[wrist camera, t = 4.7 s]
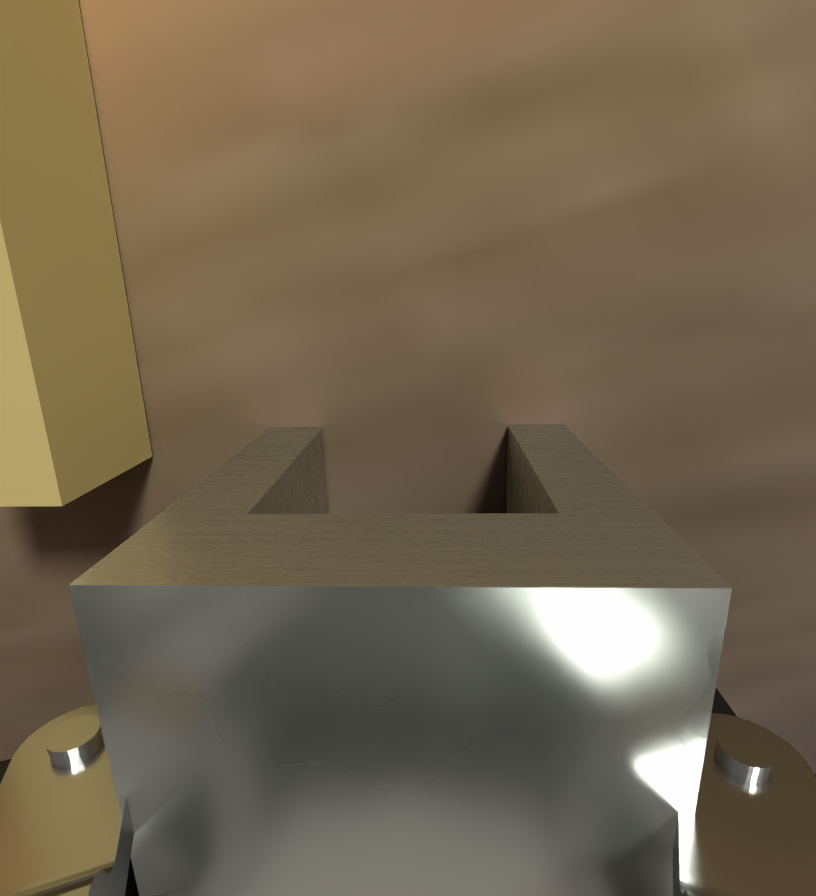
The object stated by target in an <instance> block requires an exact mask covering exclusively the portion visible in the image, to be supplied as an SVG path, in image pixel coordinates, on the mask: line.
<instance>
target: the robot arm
mask: <svg viewBox="0 0 816 896" xmlns="http://www.w3.org/2000/svg"><path fill="white" fill-rule="evenodd" d="M133 836H134V830H133V825H132V821H131V816H130V812H129V807H128V803H127V798H126V797H120V796H117V795H116V791H115V786H114V782H113V778H112V773H111V769H110V764H109V760H108V755H107V751H106V747H105V742H104V738H103V733H102V729H101V725H100V720H99V716H98V711H97V707H96V704H93V705H88V706H84V707H81V708H78V709H75V710H72V711H70V712H67V713H65V714H63V715H61V716H59V717H57V718H55V719H53V720H52V721H50V722H48V723H47V724H45V725H44V726H42V727H41V728H39V729H38V730H37V731H36V732H34V733H33V734H32V735H31V736H30V737H28V738H27V739H26V741H25V742H24V743H23V744H22V745H21V746H20V747H19V748H18V750H17V751H16V752H15V754H14V756H13V757H12V759H9V760H5V761H0V896H139V892H138V888H137V883H136V879H135V875H134V870H133V866H132V861H131V857H130V856H131V850H132V843H133ZM673 896H816V774H814V772H813V770H812V769H811V767H810V766H809V764H808V763H807V761H806V760H805V759H804V758H803V757H802V755H801V754H800V753H799V752H798V751H797V750H796V749H794V748H793V747H792V746H791V745H790V744H789V743H787V742H786V741H785V740H783V739H782V738H781V737H779V736H778V735H776V734H775V733H773V732H771V731H770V730H768V729H766V728H764V727H762V726H760V725H758V724H756V723H753V722H751V721H748V720H745V719H742V718H739V717H737V716H736V715H735V713H734V712H733V711H732V709H731V708H730V706H729V705H728V704H727V702H726V701H725V699H724V698H723V697H722V695H721V694H720V693H719V691H718V690H717V688H715V694H714V700H713V706H712V712H711V718H710V724H709V730H708V737H707V743H706V749H705V755H704V761H703V767H702V773H701V779H700V785H699V791H698V797H697V803H696V809H695V813H692V812H678V818H677V825H676V831H675V838H674V844H673Z"/></svg>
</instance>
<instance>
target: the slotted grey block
mask: <svg viewBox="0 0 816 896" xmlns="http://www.w3.org/2000/svg"><path fill="white" fill-rule="evenodd" d="M69 588H70V592H71V597H72V601H73V606H74V610H75V614H76V619H77V623H78V628H79V632H80V636H81V641H82V645H83V650H84V654H85V658H86V663H87V667H88V672H89V676H90V680H91V685H92V689H93V694H94V698H95V703H96V707H97V711H98V716H99V720H100V725H101V729H102V733H103V738H104V742H105V747H106V751H107V755H108V760H109V764H110V769H111V773H112V778H113V782H114V786H115V791H116V795H117V796H120V797H126V798H127V803H128V807H129V812H130V816H131V821H132V825H133V830H134V836H133V843H132V850H131V856H130V857H131V861H132V866H133V870H134V875H135V879H136V883H137V888H138V892H139V896H673V844H674V838H675V831H676V825H677V818H678V812H692V813H695V809H696V803H697V797H698V791H699V785H700V779H701V773H702V767H703V761H704V755H705V749H706V743H707V737H708V730H709V724H710V718H711V712H712V706H713V700H714V694H715V688H716V682H717V676H718V670H719V664H720V658H721V652H722V646H723V640H724V634H725V628H726V622H727V615H728V609H729V603H730V597H731V591H732V588H731V587H730V586H729V585H728V584H727V583H726V582H725V581H724V580H723V579H722V578H721V577H720V576H719V575H718V574H717V573H716V572H715V571H714V570H712V569H711V568H710V567H709V566H708V565H707V564H706V563H705V562H704V561H703V560H702V559H701V558H700V557H699V556H698V555H697V554H696V553H695V552H694V551H693V550H692V549H691V548H690V547H689V546H688V545H687V544H686V543H685V542H684V541H683V540H682V539H681V538H680V537H679V536H678V535H677V534H676V533H675V532H673V531H672V530H671V529H670V528H669V527H668V526H667V525H666V524H665V523H664V522H663V521H662V520H661V519H660V518H659V517H658V516H657V515H656V514H655V513H654V512H653V511H652V510H651V509H650V508H649V507H648V506H647V505H646V504H645V503H644V502H643V501H642V500H641V499H640V498H639V497H638V496H637V495H636V494H635V493H633V492H632V491H631V490H630V489H629V488H628V487H627V486H626V485H625V484H624V483H623V482H622V481H621V480H620V479H619V478H618V477H617V476H616V475H615V474H614V473H613V472H612V471H611V470H610V469H609V468H608V467H607V466H606V465H605V464H604V463H603V462H602V461H601V460H600V459H599V458H598V457H597V456H595V455H594V454H593V453H592V452H591V451H590V450H589V449H588V448H587V447H586V446H585V445H584V444H583V443H582V442H581V441H580V440H579V439H578V438H577V437H576V436H575V435H574V434H573V433H572V432H571V431H570V430H569V429H568V428H567V427H566V426H565V425H542V426H508V453H507V487H506V513H463V514H328V503H327V489H326V475H325V461H324V446H323V432H322V428H277V429H268V430H266V431H265V432H264V433H263V434H261V435H260V436H259V437H257V438H256V439H255V440H254V441H252V442H251V443H250V444H248V445H247V446H246V447H245V448H243V449H242V450H241V451H240V452H238V453H237V454H236V455H234V456H233V457H232V458H231V459H229V460H228V461H227V462H225V463H224V464H223V465H222V466H220V467H219V468H218V469H217V470H215V471H214V472H213V473H211V474H210V475H209V476H208V477H206V478H205V479H204V480H202V481H201V482H200V483H199V484H197V485H196V486H195V487H194V488H192V489H191V490H190V491H188V492H187V493H186V494H185V495H183V496H182V497H181V498H179V499H178V500H177V501H176V502H174V503H173V504H172V505H171V506H169V507H168V508H167V509H165V510H164V511H163V512H162V513H160V514H159V515H158V516H156V517H155V518H154V519H153V520H151V521H150V522H149V523H148V524H146V525H145V526H144V527H142V528H141V529H140V530H139V531H137V532H136V533H135V534H133V535H132V536H131V537H130V538H128V539H127V540H126V541H125V542H123V543H122V544H121V545H119V546H118V547H117V548H116V549H114V550H113V551H112V552H110V553H109V554H108V555H107V556H105V557H104V558H103V559H101V560H100V561H99V562H98V563H96V564H95V565H94V566H93V567H91V568H90V569H89V570H87V571H86V572H85V573H84V574H82V575H81V576H80V577H78V578H77V579H76V580H75V581H73V582H72V583H71V584H70V585H69Z"/></svg>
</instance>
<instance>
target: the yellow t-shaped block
mask: <svg viewBox="0 0 816 896" xmlns="http://www.w3.org/2000/svg"><path fill="white" fill-rule="evenodd" d="M150 457H152V451H151V445H150V439H149V433H148V426H147V420H146V414H145V408H144V402H143V396H142V389H141V383H140V377H139V371H138V365H137V359H136V352H135V346H134V340H133V334H132V328H131V322H130V315H129V309H128V303H127V297H126V291H125V285H124V278H123V272H122V266H121V260H120V254H119V248H118V241H117V235H116V229H115V223H114V217H113V211H112V204H111V198H110V192H109V186H108V180H107V174H106V167H105V161H104V155H103V149H102V143H101V136H100V130H99V124H98V118H97V112H96V106H95V99H94V93H93V87H92V81H91V75H90V69H89V62H88V56H87V50H86V44H85V38H84V32H83V25H82V19H81V13H80V7H79V1H78V0H0V506H64V505H66V504H67V503H69V502H71V501H73V500H75V499H76V498H78V497H80V496H82V495H84V494H85V493H87V492H89V491H91V490H93V489H94V488H96V487H98V486H100V485H102V484H103V483H105V482H107V481H109V480H111V479H113V478H114V477H116V476H118V475H120V474H122V473H123V472H125V471H127V470H129V469H131V468H132V467H134V466H136V465H138V464H140V463H141V462H143V461H145V460H147V459H149V458H150Z"/></svg>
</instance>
